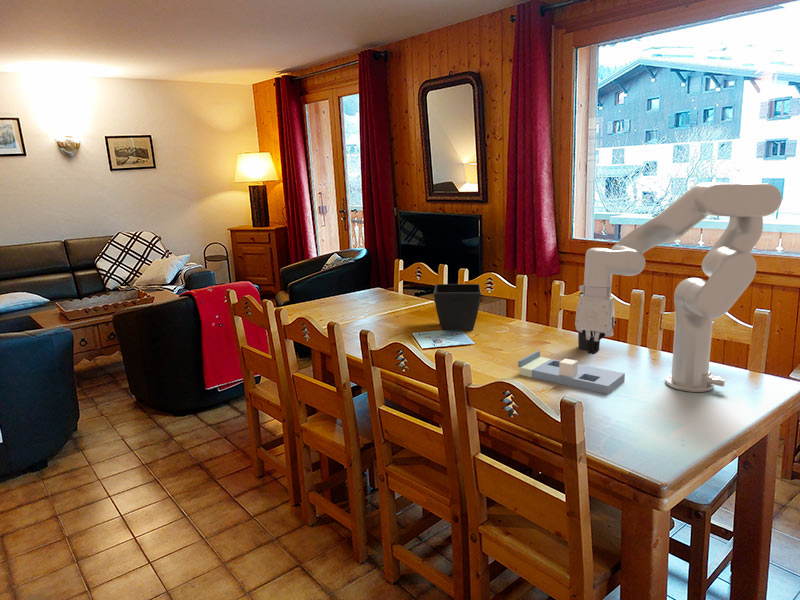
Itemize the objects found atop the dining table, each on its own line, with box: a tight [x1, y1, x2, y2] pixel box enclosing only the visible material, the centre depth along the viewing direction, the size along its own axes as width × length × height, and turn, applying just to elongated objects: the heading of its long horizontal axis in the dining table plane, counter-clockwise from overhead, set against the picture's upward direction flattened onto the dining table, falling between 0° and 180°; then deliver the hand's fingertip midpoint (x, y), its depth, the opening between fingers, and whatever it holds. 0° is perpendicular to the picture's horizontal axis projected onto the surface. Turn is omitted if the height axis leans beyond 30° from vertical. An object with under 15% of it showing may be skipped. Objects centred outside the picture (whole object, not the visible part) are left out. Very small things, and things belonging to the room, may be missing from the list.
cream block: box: [559, 358, 579, 377], centre depth 171 cm, size 4×4×4 cm
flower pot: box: [433, 283, 482, 331], centre depth 237 cm, size 19×19×17 cm
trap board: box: [517, 350, 626, 395], centre depth 175 cm, size 29×13×4 cm, turn 49°
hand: (592, 352), depth 166 cm, fingers closed
